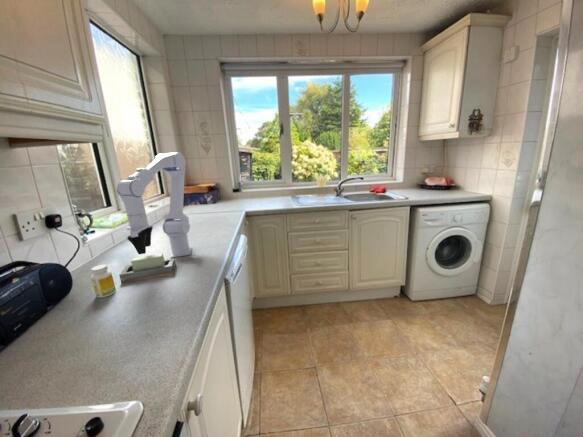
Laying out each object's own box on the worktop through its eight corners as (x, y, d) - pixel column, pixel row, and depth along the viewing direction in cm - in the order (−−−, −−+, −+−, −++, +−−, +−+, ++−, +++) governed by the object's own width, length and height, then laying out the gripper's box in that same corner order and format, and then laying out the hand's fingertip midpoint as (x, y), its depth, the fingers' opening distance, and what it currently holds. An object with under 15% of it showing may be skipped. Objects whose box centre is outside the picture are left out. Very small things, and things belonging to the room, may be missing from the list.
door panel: (137, 272, 95) (133, 257, 94) (165, 267, 98) (162, 253, 96) (134, 276, 93) (131, 261, 91) (164, 270, 95) (161, 256, 94)
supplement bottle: (92, 299, 80) (84, 271, 78) (103, 290, 86) (95, 264, 83) (110, 297, 81) (102, 270, 78) (119, 288, 86) (112, 262, 84)
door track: (128, 273, 97) (126, 265, 96) (176, 265, 101) (174, 257, 100) (121, 283, 89) (119, 274, 89) (173, 274, 94) (171, 266, 93)
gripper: (130, 211, 95) (138, 244, 99) (116, 220, 81) (126, 259, 85) (150, 208, 97) (158, 242, 100) (140, 217, 83) (149, 255, 87)
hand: (144, 249), depth 93 cm, fingers open, 7 cm apart
